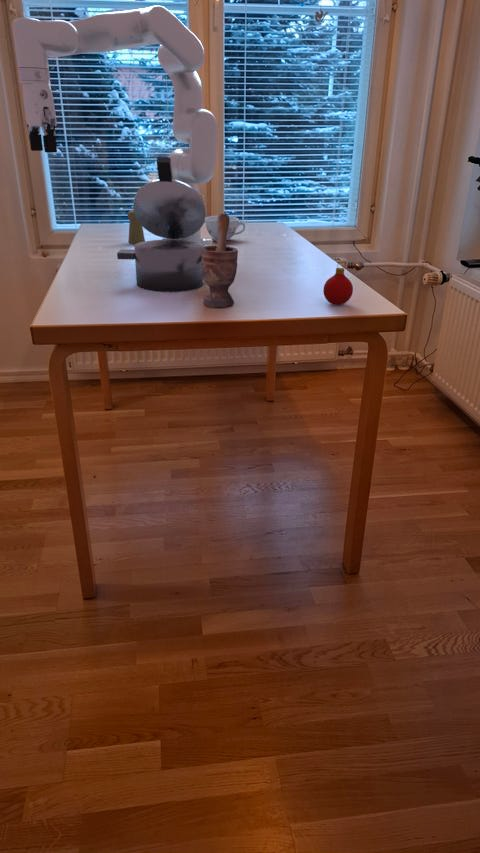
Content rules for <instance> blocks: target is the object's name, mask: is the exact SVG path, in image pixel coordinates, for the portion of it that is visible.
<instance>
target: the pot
mask: <svg viewBox="0 0 480 853" xmlns="http://www.w3.org/2000/svg"><path fill="white" fill-rule="evenodd" d="M133 247H134V248H133V249H131V248H130V249H124V248H121V249H120V250H118V251H117V253H116V255H117V256H116V258H117V260H129V261H130V260H131V261H132V260H134V263H135V278H136V279H135V280H136V287H137V288H140V289H141V290H145V291H151V292H159V293H180V292H190V291H194V290H197V289H200V288H201V287H203V286H204V279H203V275H202V269H201V248H202V247H204V246H203V245H202V244H200V243H197V242H193V241H186V240H184V239H167V238H163V237H162V239H152V240H145V241H144V242H140V243H137V244H133Z"/></svg>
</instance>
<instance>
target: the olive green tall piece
mask: <svg viewBox="0 0 480 853" xmlns="http://www.w3.org/2000/svg"><path fill="white" fill-rule="evenodd" d="M127 219H128V220H129V227H128V242H129V243H128V244H130V243H132V244H131V245H135V244H137V243H140V242H144V241H146V239H145V234H144V233H145V232H144V227H143V226H142V225H141V224H140V223H139V222H138V220H137V219H136V216H135V214H134V209H133V210H129V211H128V212H127Z"/></svg>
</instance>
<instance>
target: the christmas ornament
mask: <svg viewBox="0 0 480 853" xmlns="http://www.w3.org/2000/svg"><path fill="white" fill-rule="evenodd" d="M339 265H342V267H338V266H339ZM353 292H354V288H353V283H352V282H351V280H350V279H349V278H348V277H347V276H346V275H345V268H344V265H343V263H342V262H341V263H340V262H339V263H338V264H337V267H336V268H335V273H334V275H332V276H331V277H329V278H328V279H327V280H326V281H325V283H324V285H323V296H324V298H325V299H326V301H327V302H328V303H330V304H331V305H335V306H340V305H341V306H342V305H344V304H346V303H348V301H350V299H351V298H352V296H353Z"/></svg>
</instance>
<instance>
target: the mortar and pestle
mask: <svg viewBox="0 0 480 853" xmlns="http://www.w3.org/2000/svg"><path fill="white" fill-rule="evenodd" d="M218 216H219V217H218V222H217V234H218V238H217V241H216V245H205V246H203V247H202V248H201V269H202V275H203V283H205V285H207V286H208V288H209V291H208V293H207V294H205V296H204V297H203V304H204V305H206V306H207V307H209V308H212V309H214V308H227V307H231V306H233V305H234V304H235V303H234V302H235V301H234V299H233V297H232V294H230V292H229V288H230V286H231V285H232V284H233V283H234V282H235V278H236V274H237V271H238V254H239V251H238V248H236V247H231V246H227V241H226V237H227V233H228V228H229V216H230V215H228V214H226V213H220V214H219V215H218Z"/></svg>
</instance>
